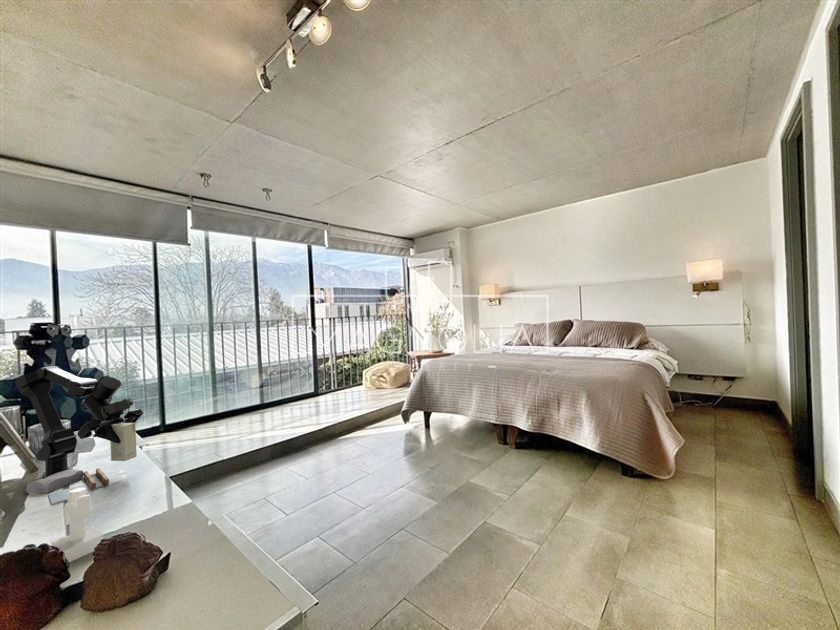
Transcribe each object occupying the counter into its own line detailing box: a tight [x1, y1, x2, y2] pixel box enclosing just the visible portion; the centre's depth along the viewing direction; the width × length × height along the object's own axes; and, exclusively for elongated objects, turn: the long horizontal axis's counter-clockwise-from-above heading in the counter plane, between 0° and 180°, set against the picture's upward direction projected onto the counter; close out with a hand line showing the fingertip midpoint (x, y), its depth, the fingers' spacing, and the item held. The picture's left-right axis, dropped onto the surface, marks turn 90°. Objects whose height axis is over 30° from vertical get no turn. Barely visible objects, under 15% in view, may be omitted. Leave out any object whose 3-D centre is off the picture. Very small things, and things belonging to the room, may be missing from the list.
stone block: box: [25, 468, 85, 495], centre depth 119 cm, size 12×5×10 cm
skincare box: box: [110, 422, 137, 462], centre depth 123 cm, size 6×4×12 cm
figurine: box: [50, 487, 105, 563], centre depth 82 cm, size 7×9×15 cm
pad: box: [47, 484, 89, 506], centre depth 112 cm, size 10×8×1 cm
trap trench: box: [83, 467, 110, 490], centre depth 121 cm, size 16×4×2 cm, turn 51°
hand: (126, 440), depth 123 cm, fingers closed on skincare box, 4 cm apart
